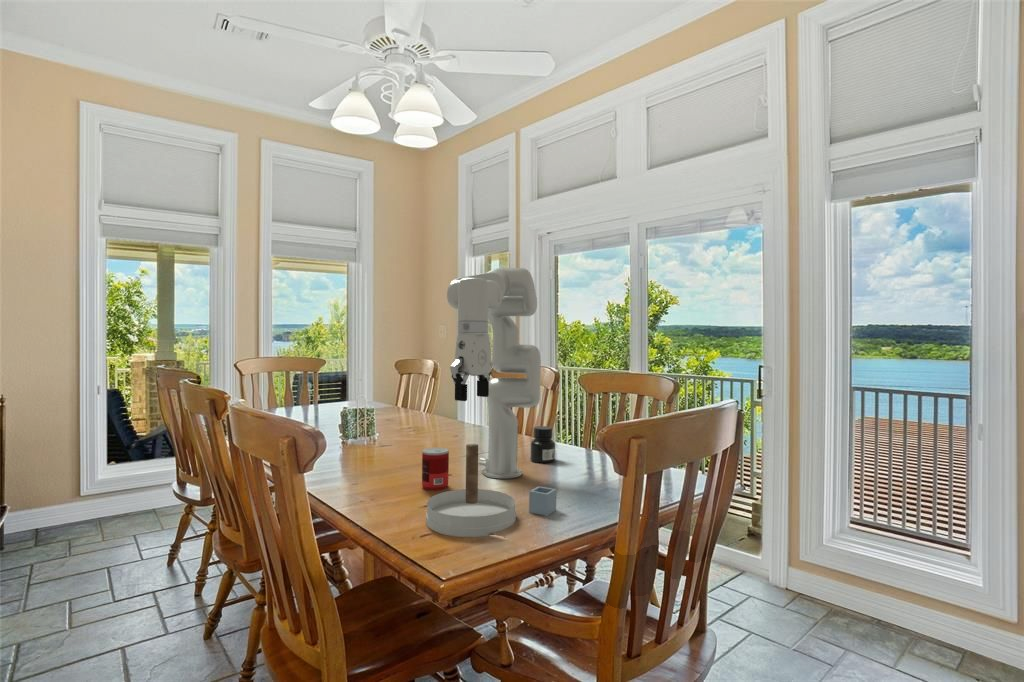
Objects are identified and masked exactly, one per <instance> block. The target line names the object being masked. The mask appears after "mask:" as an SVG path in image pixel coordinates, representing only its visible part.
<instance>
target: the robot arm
mask: <svg viewBox="0 0 1024 682" xmlns="http://www.w3.org/2000/svg"><path fill="white" fill-rule="evenodd" d="M535 288H536V287H535V282H534V278H533V277H532V274H531V272H530V270H528V269H526V268H523V267H516V268H515V267H513V268H512V267H511V268H510V267H498V268H492V269H491V270H489V271H487V272H483V273H478V274H473V275H467V276H461V277H457V278H455V279H453V280H452V281H451V282H450V283H449V286H448V287H447V290H446V299H447V302H448V305H449V306H450V307H451V308H453V309H455V310H457V337H456V344H455V352H454V355H455V356H454V362H453V363H452V364H451V365H450V367H449V370H450V373H451V379H452V380H453V384H454V400H455V401H457V402H459V401H460V402H466V401H468V383H467V381H468V378H469V376H470V377H471V376H472V377H476V376H477V379H478V380H476V396H477V397H483V398H486V401H487V408H488V409H487V410H488V441H487V442H488V444H487V445H488V448H487V449H488V453H487V455H488V456H487V458H483V457H480V458H479V459H478V466H483V467H485V468H484V469H483V471H482V472H483V475H484V476H485V477H488V478H491V479H500V480H502V479H503V480H507V479H515V478H518V477H521V476H522V474H523V473H522V472H523V471H522V469H521V468H519V467H518V444H519V443H518V435H519V434H518V433H519V432H518V431H519V427H518V426H519V422H518V421H519V420H518V418H517V416H516V414H515V412H514V411H513V410H512V409H511V408H535V407H537V406H538V405H539V403H540V399H541V369H542V368H541V367H542V364H541V363H542V359H541V358H542V357H541V351H540V349H539V347H538V346H537V345H534V344H519V327H518V326H517V323H515V321H514V320H513V318H511V317H531V316H533V315H535V313H536V311H537V309H538V298H537V292H536V289H535ZM489 322H490V325H491V329H492V342H491V339H490V335H489ZM491 343H492V348H491ZM492 369H493V370H494V371H495V372H497V373H500V374H522V375H525V376H526V377H507V376H505V377H504V376H503V377H502V376H500V377H494V378H492V379H491V376H492Z"/></svg>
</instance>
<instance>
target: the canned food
mask: <svg viewBox="0 0 1024 682" xmlns="http://www.w3.org/2000/svg"><path fill="white" fill-rule="evenodd" d="M449 454H450V451H449V449H448V448H445V447H428V448H427V447H426V448H425V449H423V450H422V453H421V455H422V457H421V467H422V468H421V472H422V473H421V487H422V488H423V489H424V490H428V491H440V490H444V489H446V488H447V487H448V486H449V466H450V465H449V463H450V459H449V458H450V455H449Z"/></svg>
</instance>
